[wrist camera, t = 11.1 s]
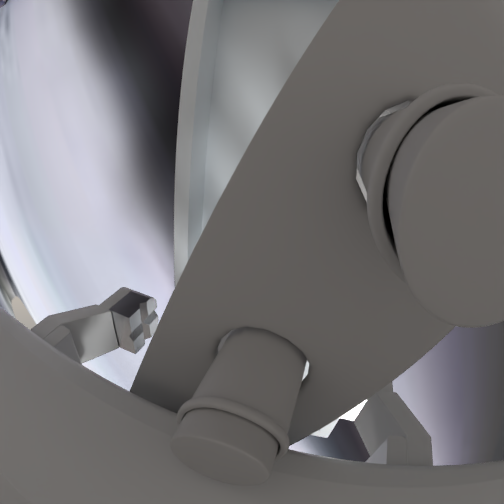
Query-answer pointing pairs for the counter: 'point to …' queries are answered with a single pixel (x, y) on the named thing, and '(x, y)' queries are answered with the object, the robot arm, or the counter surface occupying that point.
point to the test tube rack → (341, 235)
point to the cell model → (2, 3)
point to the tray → (231, 99)
